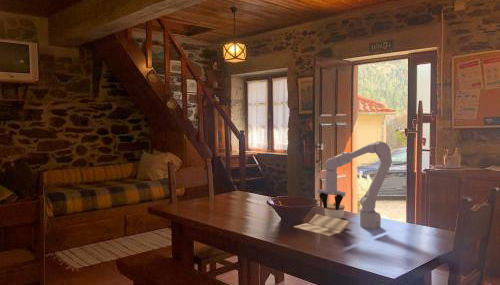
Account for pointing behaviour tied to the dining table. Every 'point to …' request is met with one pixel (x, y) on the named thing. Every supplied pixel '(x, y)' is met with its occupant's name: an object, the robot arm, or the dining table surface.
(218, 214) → the dining table surface
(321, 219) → the board
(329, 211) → the lidded jar
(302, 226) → the thin wooden board
